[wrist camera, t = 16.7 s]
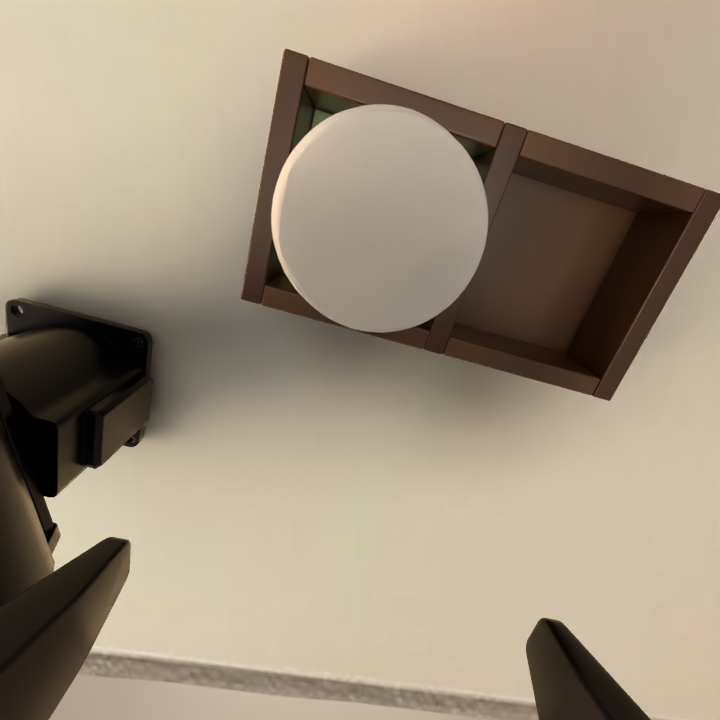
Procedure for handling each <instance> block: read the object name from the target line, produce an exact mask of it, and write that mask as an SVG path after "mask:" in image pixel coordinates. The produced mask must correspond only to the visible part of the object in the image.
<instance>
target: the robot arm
mask: <svg viewBox="0 0 720 720" xmlns="http://www.w3.org/2000/svg"><path fill="white" fill-rule="evenodd" d="M18 306H19V307H20V308H21V309H22V313H21V312H20V311H19V309H18ZM5 316H6V334H3V335H0V720H49V718H50V717H51V715H52V714H53V712H54V710H55V709H56V707H57V706H58V704H59V702H60V700H61V699H62V698H63V696H64V694H65V693H66V691H67V690H68V688H69V686H70V685H71V683H72V682H73V680H74V678H75V677H76V675H77V673H78V672H79V670H80V668H81V667H82V665H83V663H84V661H85V659H86V658H87V656H88V654H89V652H90V650H91V648H92V646H93V644H94V642H95V640H96V638H97V636H98V634H99V632H100V630H101V628H102V627H103V625H104V623H105V621H106V619H107V617H108V615H109V613H110V611H111V609H112V607H113V605H114V603H115V601H116V599H117V597H118V595H119V593H120V591H121V589H122V587H123V585H124V583H125V581H126V579H127V577H128V573H129V569H130V549H131V545H130V542H129V540H126V539H121V538H115V537H109V538H106V539H105V540H103V541H101V542H100V543H98V544H97V545H95V546H94V547H92V548H90V549H89V550H87V551H86V552H84V553H83V554H81V555H80V556H78V557H76V558H75V559H73V560H72V561H70V562H69V563H67V564H66V565H64V566H62V567H61V568H59V569H58V570H56V571H55V572H53V571H54V563H55V562H54V559H53V557H52V553H53V551H54V549H55V547H56V545H57V543H58V540H59V538H60V535H61V534H60V532H59V529H58V526H57V524H56V523H53V522H52V519H51V516H50V513H49V510H48V508H47V505H46V502H45V499H44V496H46V497H55V496H57V495H58V494H59V493H60V492H61V491H62V490H63V489H64V488H65V487H66V486H67V485H68V484H70V483H71V482H72V481H73V480H74V479H75V478H76V477H77V476H78V475H79V474H80V473H81V472H83V471H84V470H85V469H86V468H87V467H90V468H94V469H96V468H98V467H99V466H101V465H103V464H104V463H105V462H106V461H107V460H108V459H109V458H110V457H111V456H112V455H113V454H114V453H115V452H116V451H117V450H118V449H119V448H120V447H121V446H122V445H124V446H128V447H134V446H136V445H137V444H138V443H139V442H140V441H141V440H142V439H143V434H144V424H145V423H146V422H147V421H148V420H149V414H150V404H151V394H152V384H153V378H152V376H151V374H149V372H150V362H151V352H152V337H151V336H150V334H149V333H148V332H146V331H144V330H141V329H137V328H134V327H130V326H126V325H122V324H118V323H115V322H111V321H107V320H103V319H99V318H96V317H92V316H88V315H84V314H80V313H77V312H73V311H69V310H65V309H61V308H58V307H54V306H50V305H46V304H42V303H39V302H35V301H31V300H27V299H23V298H18V299H14V300H10V301H8V302H7V303H6V306H5ZM137 337H139V338H141V340H142V341H143V344H140V343H138V341H137ZM132 436H133V437H134V439H133V438H131V437H132ZM526 654H527V659H528V664H529V670H530V675H531V680H532V685H533V690H534V696H535V701H536V706H537V711H538V716H539V720H651V719H650V718H649V717H648V716H647V715H646V714H645V713H644V712H643V711H642V710H641V708H640V707H639V706H638V705H637V704H636V703H635V702H634V701H633V700H632V699H631V697H630V696H629V695H628V694H627V693H626V692H625V691H624V690H623V689H622V688H621V686H620V685H619V684H618V683H617V682H616V681H615V680H614V679H613V678H612V677H611V675H610V674H609V673H608V672H607V671H606V670H605V669H604V668H603V667H602V666H601V664H600V663H599V662H598V661H597V660H596V659H595V658H594V657H593V656H592V655H591V653H590V652H589V651H588V650H587V649H586V648H585V647H584V646H583V645H582V644H581V642H580V641H579V640H578V639H577V638H576V637H575V636H574V635H573V634H572V633H571V631H570V630H569V629H568V628H567V627H566V626H565V625H564V624H563V623H562V622H560V621H558V620H554V619H548V618H542V619H540V620H539V621H538V623H537V625H536V626H535V628H534V630H533V631H532V633H531V635H530V637H529V638H528V640H527V644H526Z"/></svg>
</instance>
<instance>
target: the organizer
mask: <svg viewBox="0 0 720 720" xmlns="http://www.w3.org/2000/svg"><path fill="white" fill-rule="evenodd" d="M372 104H386V105H396V106H401V107H405V108H409V109H412V110H414V111H417V112H419V113H421V114H424V115H426V116H428V117H429V118H431V119H433V120H434V121H435V122H437V123H438V124H440V125H441V126H442V127H444V128H445V129H446V130H448V131H449V133H450V134H451V135H452V136H453V137H454V138H455V139H456V140H457V141H458V142H459V143H460V144H461V145H462V146H463V147H464V149H465V150H466V151H467V153H468V154H469V156H470V157H471V159H472V160H473V162H474V164H475V166H476V168H477V170H478V172H479V174H480V177H481V180H482V183H483V186H484V190H485V194H486V200H487V207H488V232H487V238H486V244H485V248H484V251H483V254H482V257H481V260H480V263H479V265H478V267H477V270H476V272H475V273H474V275H473V277H472V279H471V280H470V282H469V284H468V285H467V287H466V288H465V289H464V291H463V292H462V293H461V294H460V295H459V297H458V298H457V299H456V300H455V301H454V302H453V303H452V304H451V305H450V306H448V307H447V308H446V309H445V310H444V311H442V312H441V313H439V314H438V315H436V316H435V317H433V318H431V319H430V320H428V321H426V322H424V323H422V324H420V325H417V326H414V327H411V328H408V329H404V330H400V331H393V332H384V333H382V332H366V331H361V330H356V329H352V328H349V327H346V326H344V325H341V324H339V323H337V322H335V321H333V320H331V319H329V318H327V317H326V316H324V315H323V314H321V313H320V312H319V311H317V310H316V309H315V308H314V307H312V306H311V305H310V304H309V303H308V302H307V301H306V300H305V299H304V298H303V297H302V296H301V295H300V294H299V293H298V291H297V290H296V289H295V288H294V286H293V285H292V284H291V282H290V281H289V279H288V277H287V276H286V274H285V272H284V270H283V268H282V266H281V263H280V261H279V259H278V256H277V252H276V249H275V246H274V241H273V235H272V225H271V212H272V202H273V196H274V192H275V188H276V184H277V181H278V178H279V175H280V173H281V170H282V168H283V166H284V164H285V162H286V160H287V158H288V157H289V155H290V154H291V152H292V151H293V149H294V148H295V147H296V146H297V144H298V143H299V142H300V141H301V140H302V139H303V137H304V136H305V135H306V134H308V133H309V132H310V131H311V130H312V129H313V128H314V127H316V126H317V125H318V124H319V123H321V122H322V121H324V120H325V119H327V118H329V117H331V116H333V115H335V114H337V113H339V112H342V111H344V110H348V109H351V108H355V107H360V106H364V105H372ZM719 209H720V194H719V193H716V192H713V191H710V190H707V189H706V190H705V189H704V188H701V187H698V186H695V185H692V184H689V183H686V182H683V181H680V180H677V179H674V178H671V177H668V176H666V175H663V174H660V173H657V172H654V171H651V170H648V169H645V168H642V167H639V166H636V165H633V164H630V163H627V162H624V161H621V160H618V159H615V158H612V157H609V156H606V155H603V154H600V153H597V152H594V151H591V150H588V149H585V148H582V147H579V146H576V145H573V144H570V143H567V142H564V141H561V140H558V139H555V138H552V137H549V136H546V135H543V134H540V133H537V132H534V131H531V130H527V129H525V128H522V127H519V126H516V125H513V124H510V123H505V124H504V122H503V121H501V120H498V119H495V118H492V117H489V116H486V115H483V114H480V113H477V112H474V111H471V110H468V109H465V108H462V107H459V106H456V105H453V104H450V103H447V102H444V101H441V100H438V99H435V98H432V97H429V96H426V95H423V94H420V93H417V92H414V91H411V90H408V89H405V88H402V87H399V86H396V85H393V84H390V83H387V82H384V81H381V80H378V79H375V78H373V77H370V76H367V75H364V74H361V73H358V72H355V71H352V70H349V69H346V68H343V67H340V66H337V65H334V64H331V63H328V62H325V61H322V60H319V59H316V58H313V57H311V58H310V59H309V57H308V56H307V55H304V54H301V53H298V52H295V51H292V50H289V49H285V50H284V53H283V59H282V65H281V70H280V76H279V82H278V87H277V93H276V99H275V105H274V110H273V116H272V122H271V127H270V133H269V139H268V144H267V150H266V156H265V162H264V167H263V173H262V179H261V184H260V190H259V196H258V201H257V207H256V213H255V218H254V224H253V230H252V236H251V241H250V247H249V253H248V258H247V264H246V270H245V275H244V281H243V287H242V293H241V299H242V300H246V301H250V302H253V303H257V304H262V305H264V306H267V307H271V308H274V309H278V310H282V311H285V312H289V313H293V314H296V315H300V316H303V317H307V318H311V319H314V320H318V321H322V322H325V323H329V324H333V325H336V326H340V327H343V328H347V329H351V330H354V331H358V332H362V333H365V334H369V335H372V336H376V337H380V338H383V339H387V340H391V341H394V342H398V343H402V344H405V345H409V346H412V347H416V348H420V349H423V348H424V350H427V351H431V352H434V353H438V354H444V355H446V356H450V357H453V358H457V359H461V360H464V361H468V362H471V363H475V364H479V365H482V366H486V367H490V368H493V369H497V370H500V371H504V372H508V373H511V374H515V375H519V376H522V377H526V378H530V379H533V380H537V381H540V382H544V383H548V384H551V385H555V386H559V387H562V388H566V389H569V390H573V391H577V392H580V393H584V394H588V395H592V396H594V397H597V398H601V399H605V400H609V401H610V400H611V398H612V396H613V394H614V393H615V391H616V389H617V387H618V386H619V384H620V382H621V380H622V379H623V377H624V375H625V373H626V372H627V370H628V368H629V366H630V365H631V363H632V361H633V359H634V358H635V356H636V354H637V352H638V351H639V349H640V347H641V345H642V344H643V342H644V340H645V338H646V337H647V335H648V333H649V331H650V330H651V328H652V326H653V324H654V323H655V321H656V319H657V317H658V316H659V314H660V312H661V310H662V309H663V307H664V305H665V303H666V302H667V300H668V298H669V296H670V295H671V293H672V291H673V289H674V288H675V286H676V284H677V282H678V281H679V279H680V277H681V275H682V274H683V272H684V270H685V268H686V267H687V265H688V263H689V262H690V260H691V258H692V256H693V255H694V253H695V251H696V249H697V248H698V246H699V244H700V242H701V241H702V239H703V237H704V235H705V234H706V232H707V230H708V228H709V227H710V225H711V223H712V221H713V220H714V218H715V216H716V214H717V213H718V211H719Z"/></svg>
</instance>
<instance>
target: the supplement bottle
mask: <svg viewBox="0 0 720 720" xmlns="http://www.w3.org/2000/svg"><path fill="white" fill-rule="evenodd" d="M271 225H272V235H273V241H274V246H275V249H276V252H277V256H278V259H279V261H280V263H281V266H282V268H283V270H284V272H285V274H286V276H287V277H288V279H289V281H290V282H291V284H292V285H293V286H294V288H295V289H296V290H297V291H298V293H299V294H300V295H301V296H302V297H303V298H304V299H305V300H306V301H307V302H308V303H309V304H310V305H311V306H312V307H314V308H315V309H316V310H317V311H319V312H320V313H321V314H323V315H324V316H326V317H327V318H329V319H331V320H333V321H335V322H337V323H339V324H341V325H344V326H346V327H349V328H352V329H356V330H361V331H366V332H382V333H384V332H393V331H400V330H404V329H408V328H411V327H414V326H417V325H420V324H422V323H424V322H426V321H428V320H430V319H431V318H433V317H435V316H436V315H438V314H439V313H441V312H442V311H444V310H445V309H446V308H447V307H448V306H450V305H451V304H452V303H453V302H454V301H455V300H456V299H457V298H458V297H459V295H460V294H461V293H462V292H463V291H464V289H465V288H466V287H467V285H468V284H469V282H470V280H471V279H472V277H473V275H474V273H475V272H476V270H477V267H478V265H479V263H480V260H481V257H482V254H483V251H484V248H485V244H486V238H487V232H488V207H487V200H486V194H485V190H484V186H483V183H482V180H481V177H480V174H479V172H478V170H477V168H476V166H475V164H474V162H473V160H472V159H471V157H470V156H469V154H468V153H467V151H466V150H465V149H464V147H463V146H462V145H461V144H460V143H459V142H458V141H457V140H456V139H455V138H454V137H453V136H452V135H451V134H450V133H449V131H448V130H446V129H445V128H444V127H442V126H441V125H440V124H438V123H437V122H435V121H434V120H433V119H431V118H429V117H428V116H426V115H424V114H421V113H419V112H417V111H414V110H412V109H409V108H405V107H401V106H396V105H386V104H372V105H364V106H360V107H355V108H351V109H348V110H344V111H342V112H339V113H337V114H335V115H333V116H331V117H329V118H327V119H325V120H324V121H322V122H321V123H319V124H318V125H317V126H316V127H314V128H313V129H312V130H311V131H310V132H309V133H308V134H306V135H305V136H304V137H303V139H302V140H301V141H300V142H299V143H298V144H297V146H296V147H295V148H294V149H293V151H292V152H291V154H290V155H289V157H288V158H287V160H286V162H285V164H284V166H283V168H282V170H281V173H280V175H279V178H278V181H277V184H276V188H275V192H274V196H273V202H272V212H271Z"/></svg>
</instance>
